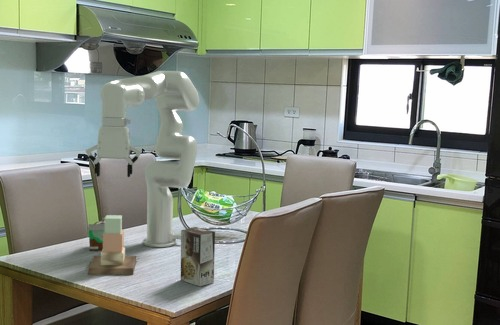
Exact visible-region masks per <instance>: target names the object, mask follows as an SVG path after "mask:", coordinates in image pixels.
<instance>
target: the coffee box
mask: <svg viewBox="0 0 500 325" xmlns="http://www.w3.org/2000/svg"><path fill="white" fill-rule="evenodd" d="M180 234H181V239H180V281H182V282H186V283H189V284H191V285H194V286H197V287H203V286H206V285H210V284H213V283H214V282H215V251H216V250H215V248H216V247H215V246H216V241H215V240H216V231H214V230H210V229H205V228H201V227H197V226H193V227H189V228H186V229H181V230H180Z"/></svg>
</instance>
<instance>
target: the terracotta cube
mask: <svg viewBox="0 0 500 325" xmlns="http://www.w3.org/2000/svg"><path fill="white" fill-rule="evenodd" d="M124 234H125V231H124V229H122V231H121V234H105V231H104V233H103V252H119V253H122V251H123V248H124V247H125V245H124V244H125V242H124V241H125V238H124V236H125V235H124Z"/></svg>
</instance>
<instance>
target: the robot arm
mask: <svg viewBox="0 0 500 325" xmlns="http://www.w3.org/2000/svg"><path fill="white" fill-rule="evenodd" d="M99 96H100V99H101V126H99V130H98V134H97V144H94V146H91V147H88V148H87V149H86V150H85V153H86V154H87V157H88V158H89V160H90V161H91V162H92V163H93V164H94V174H96V177H100V176H101V163H100V161H102V159H110V160H111V159H112V160H113V159H114V160H115V159H117V160H121V159H123V160H126V162H127V165H126V167H127V170H126V171H127V174H126V175H127V178H130V177H131V175H133V164H134V163H135V162H136V161H137V160H138V159H139V158H140V156H141V154H142V150H140V149H139V148H137V147H134V146H133V145H132V144H131V135H130V128H129V127H127V125H130V124H132V122H131V121H132V120H131V119H128V118H127V107H129V108H134V107H135V108H136V107H139V106H141V105H142V104H143V102H144V101H148V100H152V99H154V98H155V99H154V100H155V103H156V108H157V110H158V113H159V116H160V126H159V132H158V136H157V139H156V144H155V148H154V149H155V150H154V151H155V155H156V156H157V157H158V158H160V159H164V160H152V161H150V162H149V163H147V165H146V166H145V169H144V177H145V183H146V187H147V188H146V189H147V190H146V191H147V192H146V193H147V199H146V200H147V204H146V206H147V208H146V210H147V212H146V219H147V220H146V237H145V238H144V239H142V244H143V245H144V246H147V247H151V248H167V247H172V246H174V245H176V244H177V240H181V233H175V232H174V230H173V221H174V220H173V218H174V216H173V213H174V211H173V210H174V198H173V194H172V192H171V190H170V188H175V189H176V188H177V189H185V188H187V187H188V186H189V185H190V183H191V180H192V177H193V173H194V169H195V164H196V160H197V155H198V154H197V153H198V143H197V140H196V138H194V137H193V136H191V135H185V134H184V135H183V130H184V129H183V128H184V124H183V121H182V119H181V117H180V115H179V114H178V112H176V111H182V112H192V111H195V110H197V108H198V107H199V104H200V97H199V93H198V90H197V89H196V87H195V85H194V84H193V82H192V80H191V79H190V77H189V76H188V75H187V74H186V73H185V72H183V71H181V70H180V71H179V70H158V71H154V72H150V73H148V74H144V75H138V76H133V77H127V78H121V79H114V80H112V81H109V82H106V83H104V84H103V85H102V88H101V89H100V95H99ZM94 151H96V155H97V157H96V156H94V154H93V152H94ZM131 152H134V153H135V155H134V156H133V157H131V156H130V155H131ZM170 160H172V161H170Z"/></svg>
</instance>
